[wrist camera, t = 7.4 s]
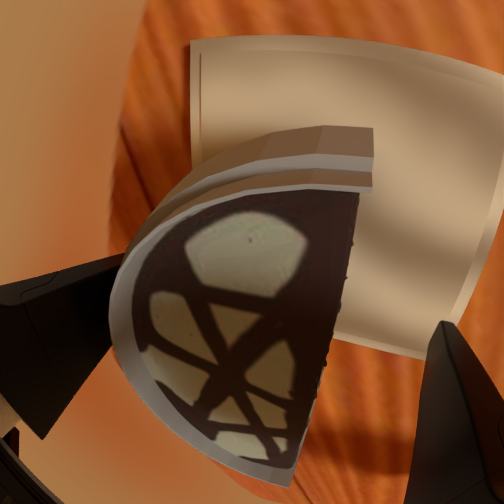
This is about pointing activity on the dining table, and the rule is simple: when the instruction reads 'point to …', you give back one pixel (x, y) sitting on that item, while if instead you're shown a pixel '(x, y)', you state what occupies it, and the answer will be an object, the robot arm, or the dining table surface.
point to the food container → (243, 293)
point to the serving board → (376, 163)
